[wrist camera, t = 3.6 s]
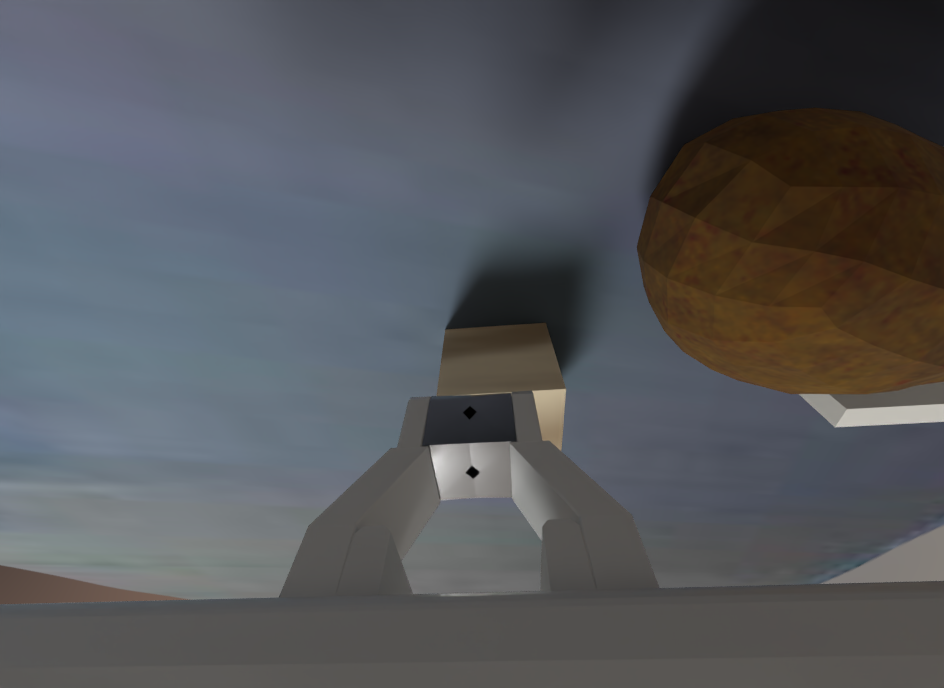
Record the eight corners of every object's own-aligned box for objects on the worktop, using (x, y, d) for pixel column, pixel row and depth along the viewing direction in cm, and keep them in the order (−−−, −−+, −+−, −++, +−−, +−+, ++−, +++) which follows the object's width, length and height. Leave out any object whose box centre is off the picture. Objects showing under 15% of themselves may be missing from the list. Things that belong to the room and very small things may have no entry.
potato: (747, 361, 19) (910, 521, 12) (562, 258, 16) (632, 389, 9) (922, 217, 15) (1335, 330, 8) (716, 41, 12) (1085, -44, 5)
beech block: (445, 328, 18) (436, 396, 14) (545, 321, 18) (565, 388, 14) (456, 401, 21) (451, 476, 17) (543, 396, 21) (559, 470, 17)
